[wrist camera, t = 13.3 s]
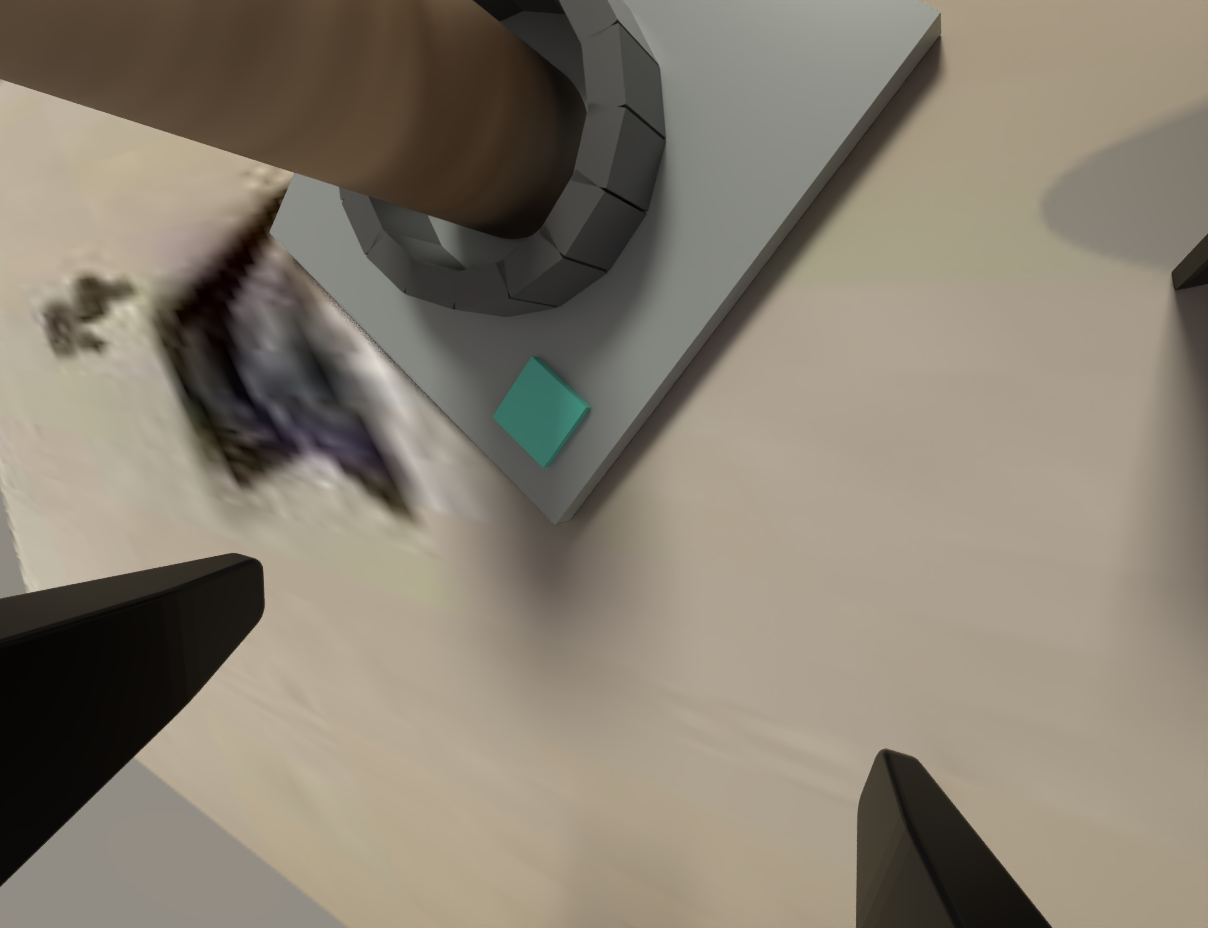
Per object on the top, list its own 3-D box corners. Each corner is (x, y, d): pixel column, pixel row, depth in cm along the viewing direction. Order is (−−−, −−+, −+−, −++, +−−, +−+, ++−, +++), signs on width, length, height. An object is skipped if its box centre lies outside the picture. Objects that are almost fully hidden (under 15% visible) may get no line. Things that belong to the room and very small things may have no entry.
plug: (608, 200, 19) (65, -89, 7) (472, 262, 21) (-104, 120, 9) (566, 27, 19) (-48, -545, 7) (434, 109, 21) (-188, -222, 9)
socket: (940, 33, 15) (939, -54, 12) (570, 519, 21) (507, 543, 18) (494, -228, 20) (410, -341, 17) (292, 237, 26) (203, 218, 23)
